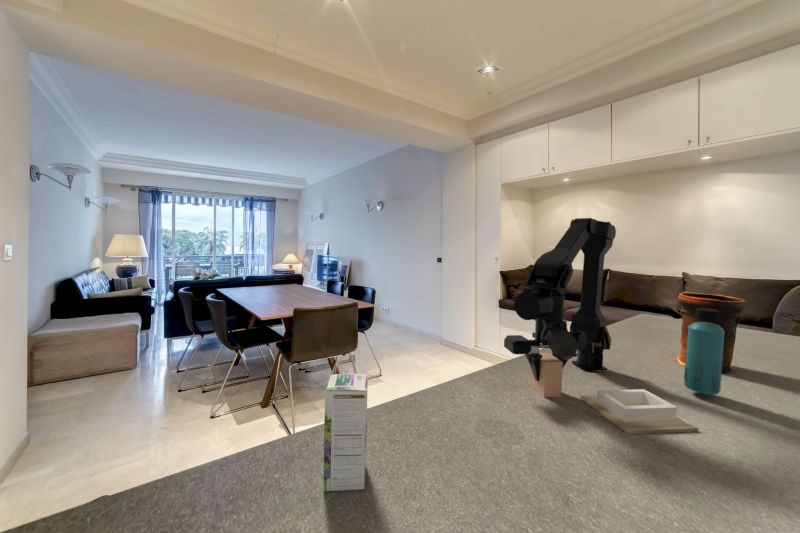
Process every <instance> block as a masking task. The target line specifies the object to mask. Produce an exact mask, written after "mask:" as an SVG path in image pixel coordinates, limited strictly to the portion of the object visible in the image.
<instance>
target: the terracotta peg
mask: <svg viewBox="0 0 800 533" xmlns="http://www.w3.org/2000/svg"><path fill="white" fill-rule="evenodd" d="M539 353H540V354H541V355H542V358H541V360H540V377H539V381H536V380H535V378H534V375H533V372H532V371H531V382H530V383H531V384H530V385H531V387H532V388H533V389H534V390H535V391H537V393H539V394H540V396H542V397H543V398H561V397H562V387H563V386H562V384H563V383H562V381H563V370H562V369H564V367H563V362H562V361H561V360H559V359H558V358H556V357H554V356H553V355H552V353H550V352H539Z"/></svg>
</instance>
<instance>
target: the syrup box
mask: <svg viewBox="0 0 800 533" xmlns="http://www.w3.org/2000/svg"><path fill="white" fill-rule="evenodd" d="M368 379H369V378H368V375H367V374H361V373H337V374H336V373H335V374H330V376H329V380H328V383H327V386H326V390H325V391H324V423H323V426H324V427H323V429H324V431H323V435H324V436H323V441H324V442H323V491H324V492H339V491H340V492H341V491H343V492H344V491H355V490H357V491H358V490H360V491H361V490H365V487H366V484H365V483H366V463H367V461H366V460H367V458H366V457H367V432H368V431H367V429H368V391H369V390H368V388H369V387H368V385H369V383H368Z"/></svg>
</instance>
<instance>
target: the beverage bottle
mask: <svg viewBox="0 0 800 533" xmlns="http://www.w3.org/2000/svg"><path fill="white" fill-rule="evenodd" d="M695 317H696V318H700V319H706V320H719V311H718V310H714V309H707V308H697V309H696V313H695ZM724 333H725V331H724V330H723V329H722V328H721V327H720V326H719V325H716V324H712V323H706V322H694V323H692V324H691V325H689V326H688V341H687V345H686V346H687V351H686V356H685V357H686V359H685V360H686V361H685V362H686V365H683V366H684V374H683V384H684V386H685V388H687V389H688V390H690V391H693V392H696V393H699V394H700V393H701V394H704V395H715V396H716V395H718V394H719V393H720V391H722V390H721V388H722V387H721V385H722V373H721V372H722V368H723V367H722V365H723V364H722V362H723V361H722V360H723V344H724Z"/></svg>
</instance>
